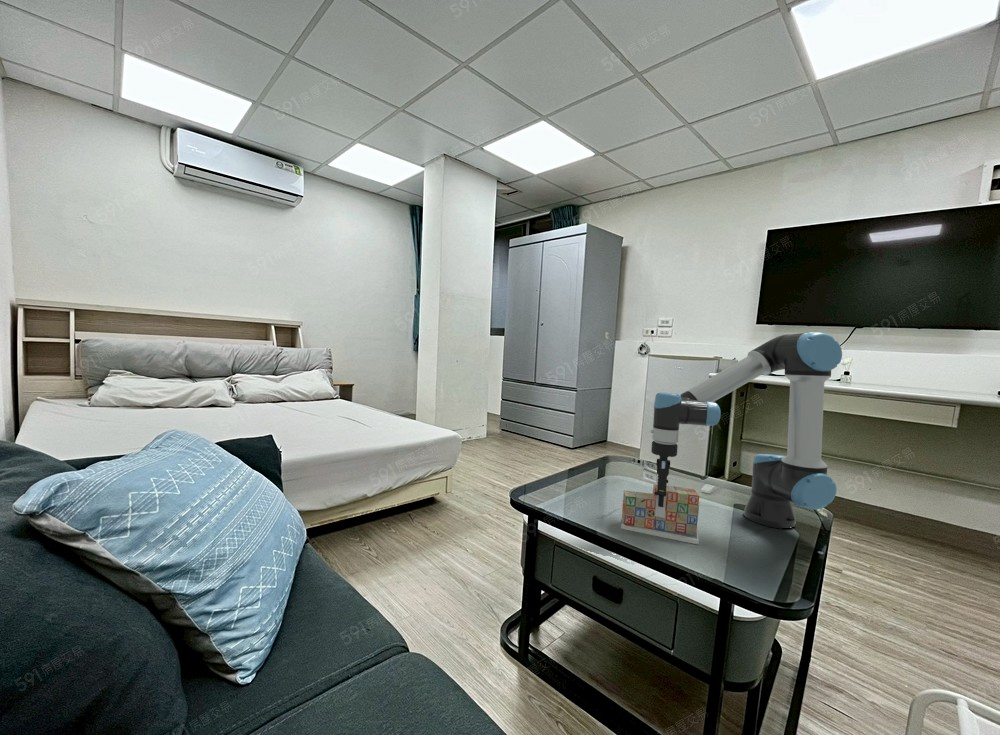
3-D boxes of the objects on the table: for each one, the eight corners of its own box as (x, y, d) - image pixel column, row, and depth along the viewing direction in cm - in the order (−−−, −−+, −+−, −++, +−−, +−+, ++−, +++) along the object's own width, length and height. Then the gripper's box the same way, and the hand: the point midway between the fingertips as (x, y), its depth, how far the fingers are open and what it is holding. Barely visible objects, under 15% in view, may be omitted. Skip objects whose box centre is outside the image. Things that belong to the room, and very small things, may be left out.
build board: (696, 531, 128) (696, 527, 127) (698, 544, 118) (698, 540, 118) (624, 517, 136) (624, 513, 136) (620, 528, 127) (621, 524, 127)
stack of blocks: (623, 525, 126) (626, 486, 126) (621, 517, 132) (624, 480, 132) (697, 535, 122) (699, 494, 121) (691, 527, 128) (694, 488, 128)
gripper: (653, 434, 139) (649, 495, 140) (650, 447, 116) (645, 520, 117) (676, 437, 136) (672, 499, 137) (678, 451, 114) (673, 526, 114)
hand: (660, 509), depth 127 cm, fingers open, 13 cm apart
